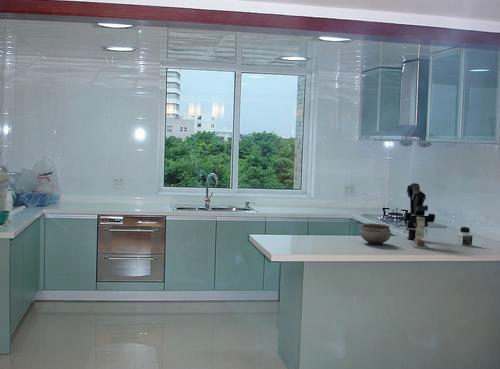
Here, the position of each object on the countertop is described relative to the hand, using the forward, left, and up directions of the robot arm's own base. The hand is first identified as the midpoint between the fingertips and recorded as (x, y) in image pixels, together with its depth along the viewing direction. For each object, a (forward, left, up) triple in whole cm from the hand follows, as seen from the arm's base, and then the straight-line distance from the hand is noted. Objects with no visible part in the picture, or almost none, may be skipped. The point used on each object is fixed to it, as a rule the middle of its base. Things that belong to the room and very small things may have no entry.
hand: (420, 227), depth 383 cm
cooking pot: (+2, -28, -12) cm, 31 cm away
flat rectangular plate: (-1, 0, -12) cm, 12 cm away
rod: (-1, 0, -7) cm, 7 cm away
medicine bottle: (-19, +32, -12) cm, 39 cm away
